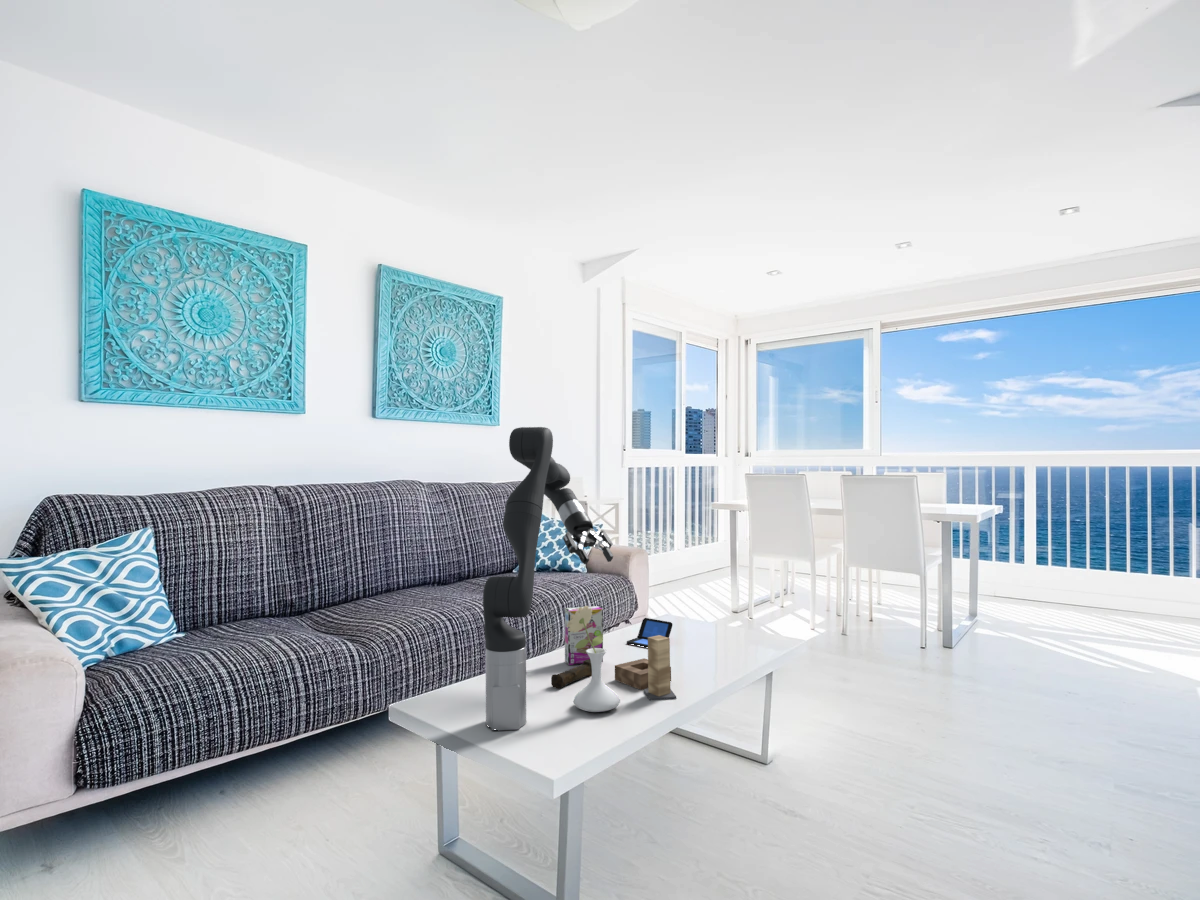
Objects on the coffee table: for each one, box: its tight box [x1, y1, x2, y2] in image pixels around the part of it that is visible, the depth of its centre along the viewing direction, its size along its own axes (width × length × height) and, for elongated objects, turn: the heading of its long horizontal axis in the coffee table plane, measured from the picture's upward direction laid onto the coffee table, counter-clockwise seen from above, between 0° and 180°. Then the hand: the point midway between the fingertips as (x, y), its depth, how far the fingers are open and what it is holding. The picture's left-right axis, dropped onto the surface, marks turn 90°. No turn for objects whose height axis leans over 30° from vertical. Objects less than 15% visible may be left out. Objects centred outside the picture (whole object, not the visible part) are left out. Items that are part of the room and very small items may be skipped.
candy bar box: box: [564, 605, 604, 666], centre depth 194 cm, size 11×5×16 cm, turn 108°
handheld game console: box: [626, 617, 674, 647], centre depth 215 cm, size 12×11×7 cm
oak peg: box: [647, 635, 672, 696], centre depth 164 cm, size 4×4×14 cm
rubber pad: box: [643, 688, 677, 701], centre depth 163 cm, size 7×7×1 cm
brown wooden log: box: [551, 659, 592, 690], centre depth 177 cm, size 19×4×5 cm, turn 140°
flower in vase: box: [567, 605, 621, 713], centre depth 154 cm, size 13×11×25 cm
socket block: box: [614, 658, 672, 691], centre depth 175 cm, size 11×11×4 cm
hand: (599, 561), depth 179 cm, fingers open, 8 cm apart
